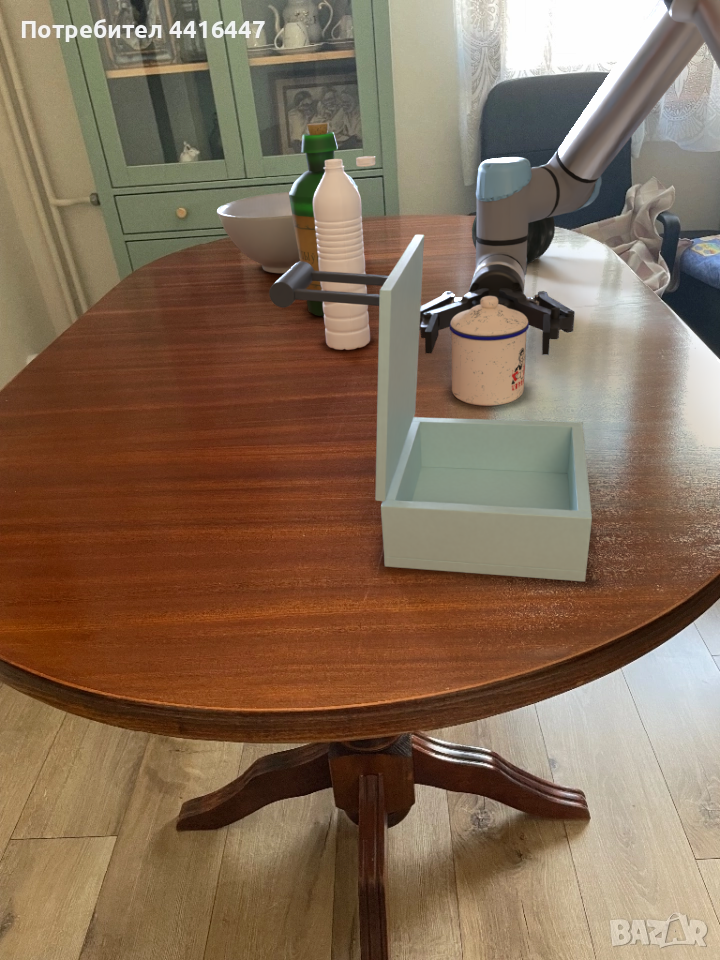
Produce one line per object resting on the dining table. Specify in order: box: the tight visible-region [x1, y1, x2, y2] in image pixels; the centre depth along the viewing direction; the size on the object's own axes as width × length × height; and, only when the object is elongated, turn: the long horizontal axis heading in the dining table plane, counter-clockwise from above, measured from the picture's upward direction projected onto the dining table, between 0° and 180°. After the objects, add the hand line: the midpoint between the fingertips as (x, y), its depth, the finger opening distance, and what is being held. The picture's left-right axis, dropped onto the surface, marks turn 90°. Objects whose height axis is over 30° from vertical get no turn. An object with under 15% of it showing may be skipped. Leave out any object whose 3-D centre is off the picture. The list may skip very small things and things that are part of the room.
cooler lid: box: [268, 234, 425, 502], centre depth 60 cm, size 17×16×10 cm
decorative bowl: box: [216, 191, 300, 274], centre depth 145 cm, size 27×27×12 cm
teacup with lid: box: [448, 296, 530, 407], centre depth 87 cm, size 12×9×12 cm
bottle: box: [289, 122, 359, 318], centre depth 113 cm, size 11×11×28 cm
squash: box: [471, 214, 556, 265], centre depth 136 cm, size 14×15×15 cm
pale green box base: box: [380, 416, 593, 583], centre depth 64 cm, size 16×16×6 cm
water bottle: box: [313, 155, 376, 351], centre depth 100 cm, size 9×6×25 cm
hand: (486, 343), depth 85 cm, fingers open, 13 cm apart
